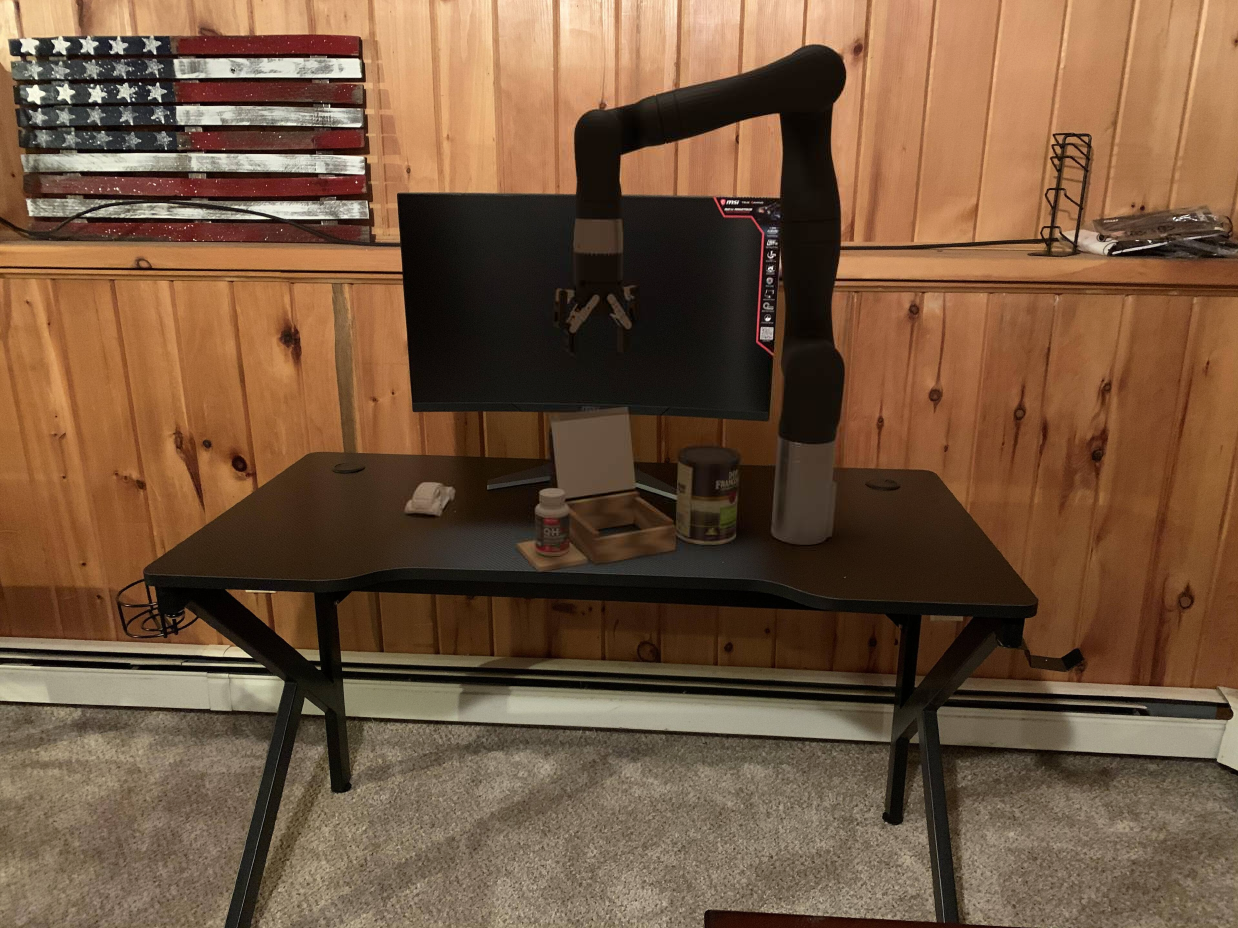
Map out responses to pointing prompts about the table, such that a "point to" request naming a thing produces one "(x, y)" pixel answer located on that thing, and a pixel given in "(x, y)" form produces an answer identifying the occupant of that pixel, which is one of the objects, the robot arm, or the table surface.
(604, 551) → the open wooden box
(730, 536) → the coffee can
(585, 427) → the lid
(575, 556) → the flat wooden board
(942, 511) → the table surface
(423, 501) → the car
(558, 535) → the pill bottle
